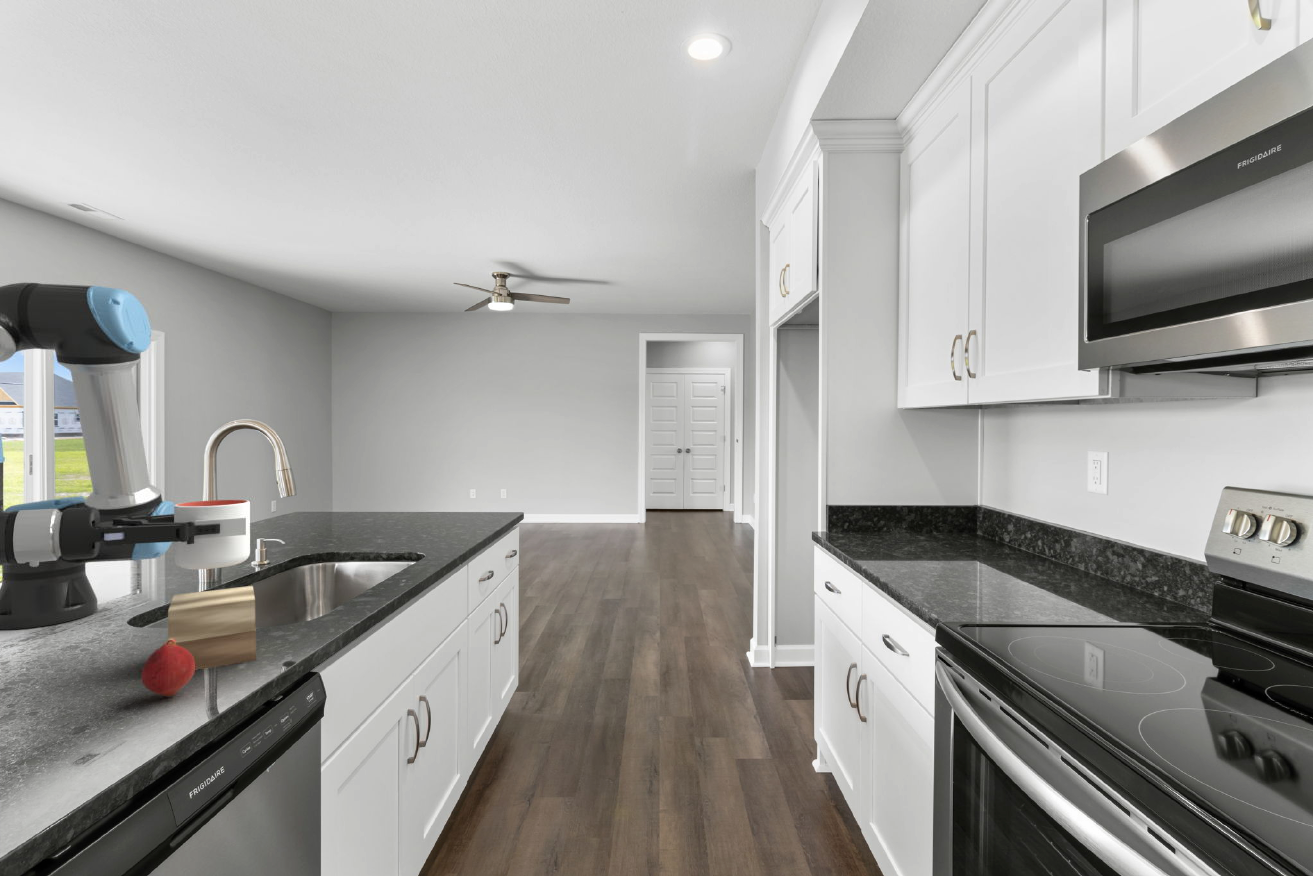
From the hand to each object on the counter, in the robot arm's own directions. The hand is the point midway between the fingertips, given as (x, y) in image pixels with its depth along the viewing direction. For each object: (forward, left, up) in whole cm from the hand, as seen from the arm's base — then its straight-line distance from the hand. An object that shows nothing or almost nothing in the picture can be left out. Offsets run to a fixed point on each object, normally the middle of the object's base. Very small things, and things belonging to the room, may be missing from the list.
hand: (244, 522), depth 103 cm
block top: (0, -4, -17) cm, 18 cm away
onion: (+15, -9, -22) cm, 28 cm away
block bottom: (0, -4, -22) cm, 22 cm away
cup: (0, -4, -7) cm, 8 cm away
